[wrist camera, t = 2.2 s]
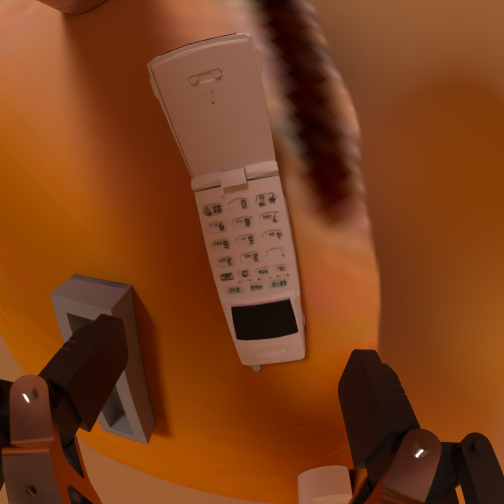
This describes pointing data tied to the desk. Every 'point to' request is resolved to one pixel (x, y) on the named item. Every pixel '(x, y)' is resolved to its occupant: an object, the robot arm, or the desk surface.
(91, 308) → the pen tray
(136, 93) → the desk surface
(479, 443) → the robot arm
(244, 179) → the mobile phone
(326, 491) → the cylinder with rectangular tab
